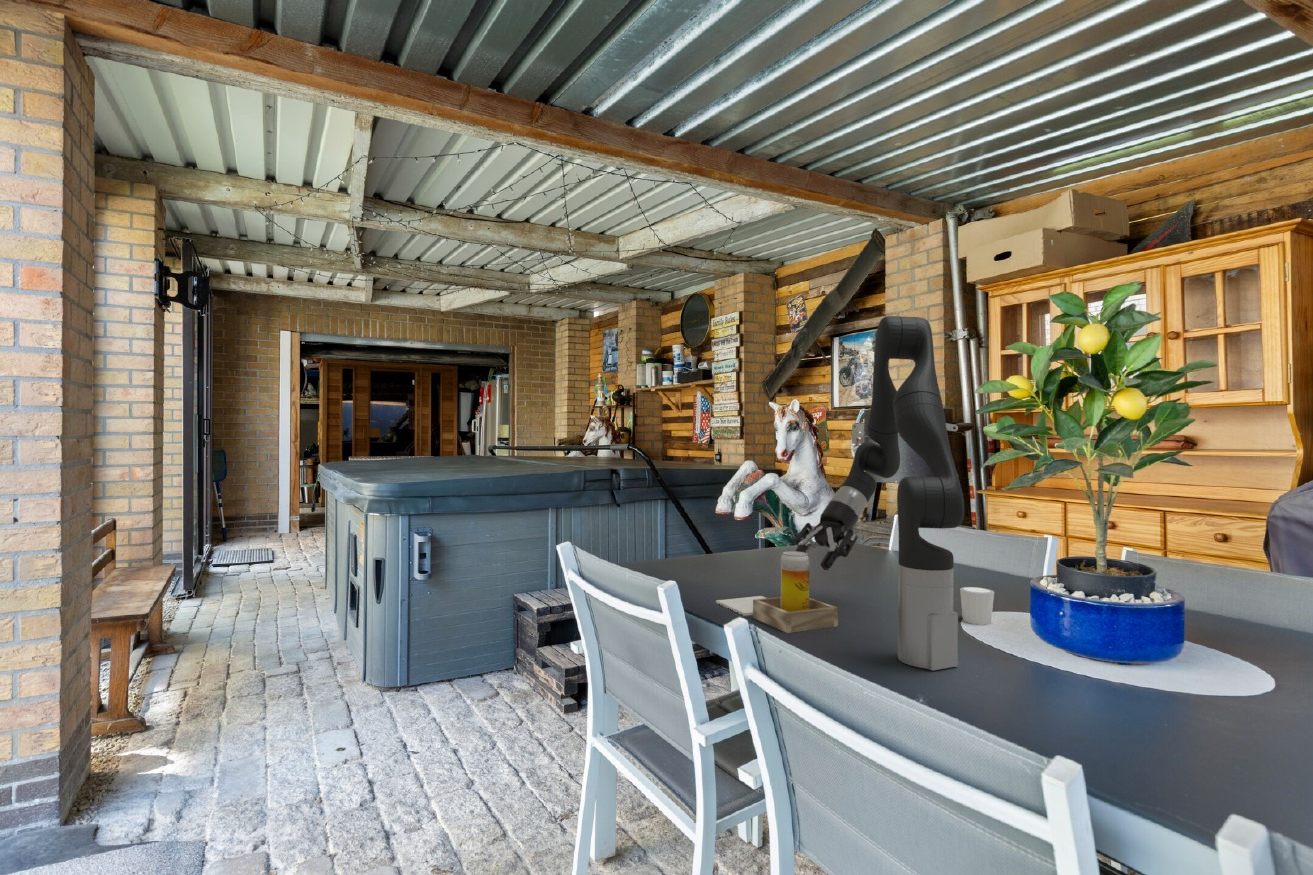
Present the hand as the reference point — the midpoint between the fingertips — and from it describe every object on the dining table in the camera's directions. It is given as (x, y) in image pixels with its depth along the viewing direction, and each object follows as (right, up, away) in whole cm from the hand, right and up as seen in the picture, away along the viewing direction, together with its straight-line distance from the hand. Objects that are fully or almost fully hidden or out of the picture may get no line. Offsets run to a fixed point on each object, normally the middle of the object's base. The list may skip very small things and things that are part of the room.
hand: (808, 564), depth 150 cm
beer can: (-4, -12, -3) cm, 13 cm away
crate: (-4, -12, -3) cm, 13 cm away
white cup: (+37, -13, 0) cm, 39 cm away
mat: (-11, -12, +11) cm, 19 cm away
